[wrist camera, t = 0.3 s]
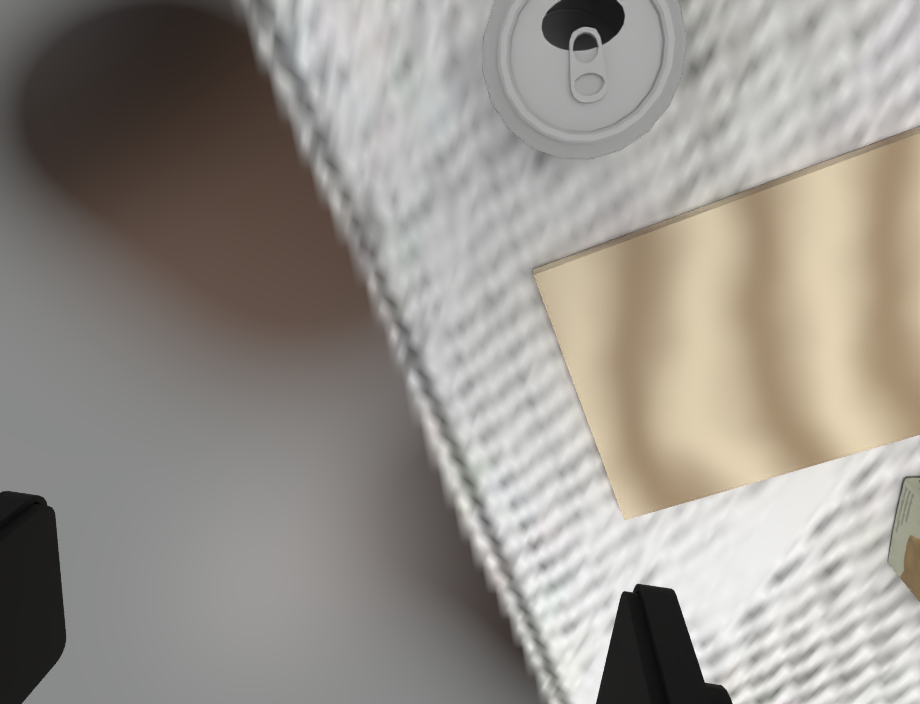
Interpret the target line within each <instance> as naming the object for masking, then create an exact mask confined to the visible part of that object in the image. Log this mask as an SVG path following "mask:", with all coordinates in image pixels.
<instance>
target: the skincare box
mask: <svg viewBox="0 0 920 704" xmlns="http://www.w3.org/2000/svg"><path fill="white" fill-rule="evenodd" d="M888 563H889V565H890V566H891V567H892V568H893V570H894V571H895V572H896V573H897V575H898V576H899V577H900V578H901V579H902V581H903V582H904V583H905V584H906V586H907V587H908V588H909V589H910V590H911V592H912V593H913V594H914V595H915V597H916V598H917V599H918V600H919V602H920V477H919V478H906V479H905V481H904V485H903V489H902V493H901V497H900V501H899V505H898V510H897V514H896V519H895V524H894V529H893V535H892V540H891V546H890V552H889V558H888Z"/></svg>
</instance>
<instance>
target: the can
mask: <svg viewBox="0 0 920 704" xmlns="http://www.w3.org/2000/svg"><path fill="white" fill-rule="evenodd" d="M686 40H687V38H686V33H685V28H684V23H683V17H682V12H681V7H680V4H679V2H678V0H496V2H495V3H494V6H493V9H492V12H491V15H490V18H489V21H488V24H487V27H486V30H485V34H484V37H483V74H484V78H485V81H486V85H487V89H488V92H489V96H490V100H491V103H492V104H493V106H494V107H495V109H496V111H497V112H498V114H499V115H500V117H501V118H502V120H503V121H504V123H505V124H506V126H507V128H508V129H509V130H510V131H512V132H513V133H514V134H515V135H517V136H518V137H519V138H520V139H522V140H523V141H524V142H525V143H527V144H528V145H529V146H530V147H532V148H534V149H536V150H539V151H542V152H545V153H547V154H550V155H553V156H556V157H558V158H569V159H593V158H596V157H599V156H602V155H606V154H609V153H612V152H616V151H619V150H622V149H623V148H625V147H626V146H627V145H629V144H630V143H632V142H633V141H635V140H636V139H638V138H639V137H641V136H642V135H644V134H645V133H647V132H648V131H649V130H650V128H651V127H652V126H653V125H654V124H655V122H656V121H657V120H658V119H659V117H660V116H661V115H662V114H663V112H664V111H665V110H666V109H667V108H668V106H669V105H670V103H671V100H672V98H673V95H674V93H675V91H676V88H677V86H678V84H679V81H680V79H681V76H682V74H683V67H684V58H685V49H686Z"/></svg>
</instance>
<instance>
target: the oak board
mask: <svg viewBox="0 0 920 704" xmlns="http://www.w3.org/2000/svg"><path fill="white" fill-rule="evenodd" d="M533 275H534V278H535V281H536V283H537V286H538V289H539V291H540V294H541V297H542V299H543V302H544V305H545V308H546V310H547V313H548V316H549V318H550V321H551V324H552V326H553V329H554V332H555V335H556V337H557V340H558V343H559V345H560V348H561V351H562V353H563V356H564V359H565V362H566V364H567V367H568V370H569V372H570V375H571V378H572V380H573V383H574V386H575V388H576V391H577V394H578V397H579V399H580V402H581V405H582V407H583V410H584V413H585V415H586V418H587V421H588V424H589V426H590V429H591V432H592V434H593V437H594V440H595V442H596V445H597V448H598V451H599V453H600V456H601V459H602V461H603V464H604V467H605V469H606V472H607V475H608V478H609V480H610V483H611V486H612V488H613V491H614V494H615V496H616V499H617V502H618V504H619V507H620V510H621V513H622V515H623V518H624V520H627V519H630V518H634V517H637V516H641V515H644V514H648V513H651V512H655V511H658V510H661V509H665V508H668V507H672V506H675V505H679V504H682V503H686V502H689V501H693V500H696V499H699V498H703V497H706V496H710V495H713V494H717V493H720V492H724V491H727V490H731V489H734V488H738V487H741V486H744V485H748V484H751V483H755V482H758V481H762V480H765V479H769V478H772V477H776V476H779V475H782V474H786V473H789V472H793V471H796V470H800V469H803V468H807V467H810V466H814V465H817V464H820V463H824V462H827V461H831V460H834V459H838V458H841V457H845V456H848V455H852V454H855V453H858V452H862V451H865V450H869V449H872V448H876V447H879V446H883V445H886V444H890V443H893V442H896V441H900V440H903V439H907V438H910V437H914V436H917V435H920V126H919V127H917V128H914V129H911V130H909V131H906V132H903V133H900V134H898V135H895V136H892V137H890V138H887V139H884V140H881V141H879V142H876V143H873V144H871V145H868V146H865V147H863V148H860V149H857V150H854V151H852V152H849V153H846V154H844V155H841V156H838V157H835V158H833V159H830V160H827V161H825V162H822V163H819V164H817V165H814V166H811V167H808V168H806V169H803V170H800V171H798V172H795V173H792V174H789V175H787V176H784V177H781V178H779V179H776V180H773V181H771V182H768V183H765V184H762V185H760V186H757V187H754V188H752V189H749V190H746V191H743V192H741V193H738V194H735V195H733V196H730V197H727V198H725V199H722V200H719V201H716V202H714V203H711V204H708V205H706V206H703V207H700V208H698V209H695V210H692V211H689V212H687V213H684V214H681V215H679V216H676V217H673V218H670V219H668V220H665V221H662V222H660V223H657V224H654V225H652V226H649V227H646V228H643V229H641V230H638V231H635V232H633V233H630V234H627V235H624V236H622V237H619V238H616V239H614V240H611V241H608V242H606V243H603V244H600V245H597V246H595V247H592V248H589V249H587V250H584V251H581V252H578V253H576V254H573V255H570V256H568V257H565V258H562V259H560V260H557V261H554V262H551V263H549V264H546V265H543V266H541V267H538V268H535V269H533Z"/></svg>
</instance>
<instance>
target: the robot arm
mask: <svg viewBox="0 0 920 704" xmlns="http://www.w3.org/2000/svg"><path fill="white" fill-rule="evenodd" d="M65 643H66V629H65V618H64V607H63V597H62V585H61V573H60V562H59V552H58V540H57V529H56V518H55V512H54V510H53V508H52V507H50V506H47V502H46V500H45V499H44V498H43V497H41V496H38V495H31V494H25V493H18V492H11V491H4V492H1V493H0V704H22V702H23V701H24V700H25V699H26V698H27V697H28V695H29V694H30V693H31V692H32V691H33V689H34V688H35V687H36V686H37V685H38V684H39V683H40V681H41V680H42V679H43V678H44V677H45V675H46V674H47V673H48V672H49V671H50V670H51V668H52V667H53V666H54V665H55V664H56V662H57V661H58V660H59V658H60V656H61V655H62V652H63V650H64V647H65ZM596 704H732V701H731V698H730V696H729V694H728V692H727V690H726V689H725V688H724V687H723V686H722V685H716V684H709V683H705V682H704V679H703V676H702V673H701V670H700V667H699V663H698V660H697V657H696V654H695V651H694V648H693V645H692V642H691V639H690V636H689V633H688V630H687V627H686V624H685V621H684V618H683V614H682V611H681V608H680V605H679V602H678V599H677V596H676V594H675V591H674V590H673V589H670V588H663V587H656V586H649V585H642V584H637V585H636V586H635V588H634V591H633V593H632V592H625V591H624V592H623V593H622V595H621V598H620V602H619V606H618V611H617V615H616V619H615V624H614V628H613V632H612V637H611V641H610V645H609V650H608V654H607V658H606V663H605V667H604V671H603V676H602V680H601V684H600V689H599V693H598V698H597V702H596Z"/></svg>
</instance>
